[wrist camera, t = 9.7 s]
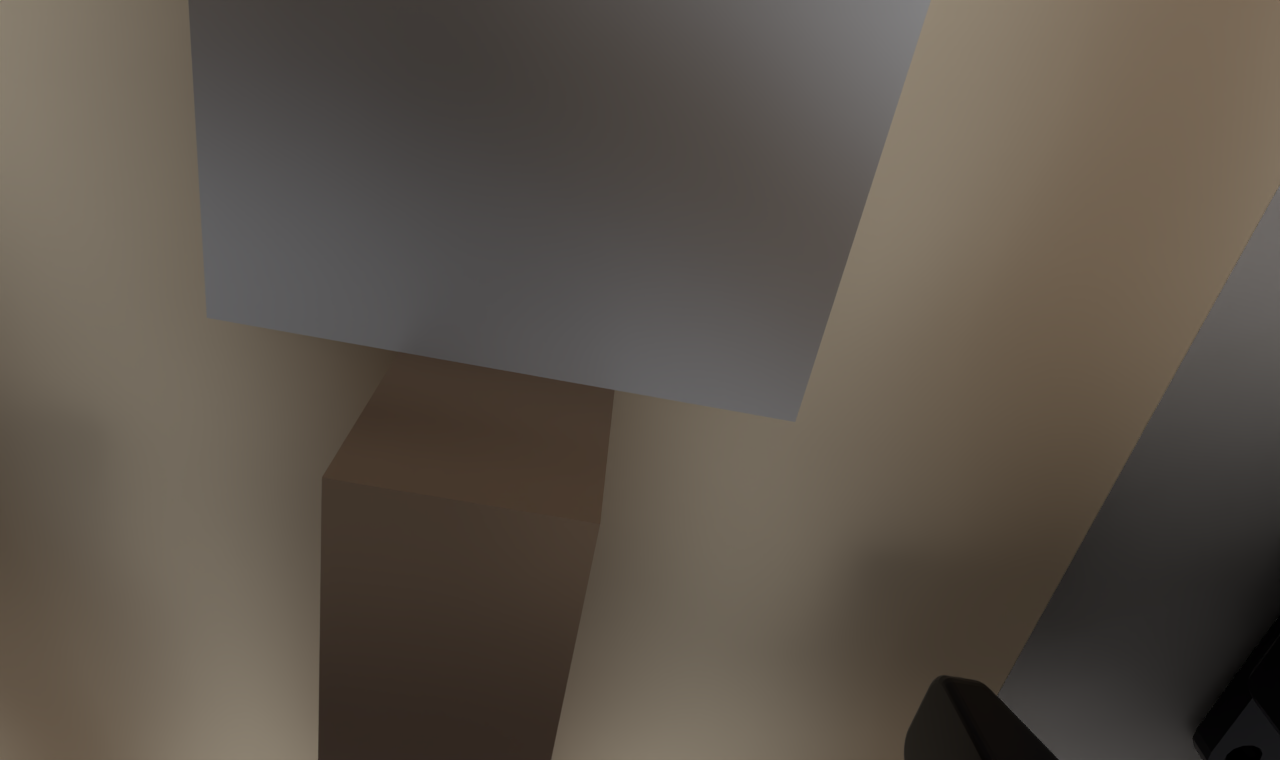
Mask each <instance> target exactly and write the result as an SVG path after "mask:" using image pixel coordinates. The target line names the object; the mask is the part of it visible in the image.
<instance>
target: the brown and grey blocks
mask: <svg viewBox="0 0 1280 760" xmlns="http://www.w3.org/2000/svg"><path fill="white" fill-rule="evenodd" d="M930 1H931V0H188V4H189V21H190V38H191V55H192V72H193V90H194V107H195V124H196V141H197V158H198V175H199V192H200V210H201V227H202V244H203V261H204V278H205V295H206V312H207V318H211V319H216V320H222V321H228V322H233V323H239V324H245V325H250V326H256V327H262V328H267V329H273V330H279V331H284V332H290V333H295V334H301V335H307V336H312V337H318V338H324V339H329V340H335V341H341V342H346V343H352V344H358V345H363V346H369V347H375V348H380V349H386V350H391V351H397V352H399V353H398V354H397V356H396V357H395V359H394V361H393V362H392V364H391V366H390V367H389V369H388V370H387V372H386V374H385V375H384V377H383V379H382V380H381V382H380V384H379V385H378V387H377V388H376V390H375V392H374V393H373V395H372V397H371V398H370V400H369V401H368V403H367V405H366V406H365V408H364V410H363V411H362V413H361V414H360V416H359V418H358V419H357V421H356V423H355V424H354V426H353V428H352V429H351V431H350V432H349V434H348V436H347V437H346V439H345V441H344V442H343V444H342V445H341V447H340V449H339V450H338V452H337V454H336V455H335V457H334V458H333V460H332V462H331V463H330V465H329V467H328V468H327V470H326V472H325V473H324V475H323V476H322V497H321V573H320V649H319V725H318V760H551V758H552V753H553V748H554V744H555V739H556V734H557V729H558V724H559V720H560V715H561V710H562V705H563V700H564V696H565V691H566V686H567V681H568V676H569V672H570V667H571V662H572V657H573V652H574V648H575V643H576V638H577V633H578V628H579V623H580V619H581V614H582V609H583V604H584V599H585V595H586V590H587V585H588V580H589V575H590V571H591V566H592V561H593V556H594V551H595V547H596V542H597V537H598V532H599V527H600V521H601V512H602V503H603V493H604V484H605V475H606V465H607V456H608V447H609V438H610V428H611V419H612V410H613V400H614V391H615V390H617V391H623V392H629V393H634V394H640V395H646V396H651V397H657V398H663V399H668V400H674V401H679V402H685V403H691V404H696V405H702V406H708V407H713V408H719V409H725V410H730V411H736V412H742V413H747V414H753V415H759V416H764V417H770V418H775V419H781V420H787V421H792V422H795V421H796V418H797V415H798V412H799V409H800V406H801V402H802V399H803V396H804V393H805V390H806V387H807V384H808V381H809V378H810V374H811V371H812V368H813V365H814V362H815V359H816V356H817V353H818V350H819V347H820V343H821V340H822V337H823V334H824V331H825V328H826V325H827V322H828V319H829V315H830V312H831V309H832V306H833V303H834V300H835V297H836V294H837V291H838V287H839V284H840V281H841V278H842V275H843V272H844V269H845V266H846V263H847V259H848V256H849V253H850V250H851V247H852V244H853V241H854V238H855V235H856V231H857V228H858V225H859V222H860V219H861V216H862V213H863V210H864V207H865V204H866V200H867V197H868V194H869V191H870V188H871V185H872V182H873V179H874V176H875V172H876V169H877V166H878V163H879V160H880V157H881V154H882V151H883V148H884V144H885V141H886V138H887V135H888V132H889V129H890V126H891V123H892V120H893V116H894V113H895V110H896V107H897V104H898V101H899V98H900V95H901V92H902V88H903V85H904V82H905V79H906V76H907V73H908V70H909V67H910V64H911V61H912V57H913V54H914V51H915V48H916V45H917V42H918V39H919V36H920V33H921V29H922V26H923V23H924V20H925V17H926V14H927V11H928V8H929V5H930Z"/></svg>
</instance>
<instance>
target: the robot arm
mask: <svg viewBox="0 0 1280 760" xmlns="http://www.w3.org/2000/svg"><path fill="white" fill-rule="evenodd" d="M1193 743H1194V747H1195V749H1196V750H1197V752H1198V753H1199V755H1200V756H1201V758H1202V760H1280V616H1279V617H1278V619H1277V620H1276V621H1275V623H1274V624H1273V625H1272V627H1271V628H1270V630H1269V631H1268V632H1267V634H1266V635H1265V636H1264V638H1263V639H1262V640H1261V642H1260V643H1259V645H1258V646H1257V647H1256V649H1255V650H1254V651H1253V653H1252V654H1251V656H1250V657H1249V658H1248V660H1247V661H1246V662H1245V664H1244V665H1243V666H1242V668H1241V669H1240V671H1239V672H1238V673H1237V675H1236V676H1235V677H1234V679H1233V680H1232V682H1231V683H1230V684H1229V686H1228V687H1227V688H1226V690H1225V691H1224V692H1223V694H1222V695H1221V697H1220V698H1219V699H1218V701H1217V702H1216V703H1215V705H1214V706H1213V707H1212V709H1211V710H1210V712H1209V713H1208V714H1207V716H1206V717H1205V718H1204V720H1203V721H1202V723H1201V724H1200V725H1199V727H1198V728H1197V729H1196V732H1195V734H1194V736H1193ZM904 760H1059V759H1058V758H1057V757H1056V756H1055V755H1054V754H1053V753H1052V752H1051V751H1050V750H1049V749H1048V748H1047V747H1046V746H1045V745H1044V744H1043V743H1042V742H1041V741H1040V740H1039V739H1038V738H1037V737H1036V736H1035V735H1034V734H1033V733H1032V732H1031V731H1030V730H1029V729H1028V727H1027V726H1026V725H1025V724H1024V723H1023V722H1022V721H1021V720H1020V719H1019V718H1018V717H1017V716H1016V715H1015V714H1014V713H1013V712H1012V711H1011V710H1010V709H1009V708H1008V707H1007V706H1006V705H1005V704H1004V703H1003V702H1002V701H1001V700H1000V699H999V698H998V697H997V695H996V694H995V693H994V692H993V691H992V690H991V689H990V688H989V687H987V686H986V685H985V684H984V683H982V682H980V681H977V680H973V679H967V678H961V677H955V676H948V675H941V676H938V677H937V678H935V679H934V680H933V681H932V683H931V684H930V686H929V688H928V690H927V692H926V694H925V696H924V698H923V700H922V702H921V704H920V706H919V708H918V710H917V712H916V714H915V716H914V718H913V720H912V722H911V724H910V726H909V728H908V731H907V733H906V737H905V742H904Z"/></svg>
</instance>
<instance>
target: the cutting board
mask: <svg viewBox="0 0 1280 760" xmlns="http://www.w3.org/2000/svg"><path fill="white" fill-rule="evenodd" d="M1279 185H1280V0H931V1H930V5H929V8H928V11H927V14H926V17H925V20H924V23H923V26H922V29H921V33H920V36H919V39H918V42H917V45H916V48H915V51H914V54H913V57H912V61H911V64H910V67H909V70H908V73H907V76H906V79H905V82H904V85H903V88H902V92H901V95H900V98H899V101H898V104H897V107H896V110H895V113H894V116H893V120H892V123H891V126H890V129H889V132H888V135H887V138H886V141H885V144H884V148H883V151H882V154H881V157H880V160H879V163H878V166H877V169H876V172H875V176H874V179H873V182H872V185H871V188H870V191H869V194H868V197H867V200H866V204H865V207H864V210H863V213H862V216H861V219H860V222H859V225H858V228H857V231H856V235H855V238H854V241H853V244H852V247H851V250H850V253H849V256H848V259H847V263H846V266H845V269H844V272H843V275H842V278H841V281H840V284H839V287H838V291H837V294H836V297H835V300H834V303H833V306H832V309H831V312H830V315H829V319H828V322H827V325H826V328H825V331H824V334H823V337H822V340H821V343H820V347H819V350H818V353H817V356H816V359H815V362H814V365H813V368H812V371H811V374H810V378H809V381H808V384H807V387H806V390H805V393H804V396H803V399H802V402H801V406H800V409H799V412H798V415H797V418H796V421H795V422H792V421H787V420H781V419H775V418H770V417H764V416H759V415H753V414H747V413H742V412H736V411H730V410H725V409H719V408H713V407H708V406H702V405H696V404H691V403H685V402H679V401H674V400H668V399H663V398H657V397H651V396H646V395H640V394H634V393H629V392H623V391H617V390H615V391H614V400H613V410H612V419H611V428H610V438H609V447H608V456H607V465H606V475H605V484H604V493H603V503H602V512H601V521H600V527H599V532H598V537H597V542H596V547H595V551H594V556H593V561H592V566H591V571H590V575H589V580H588V585H587V590H586V595H585V599H584V604H583V609H582V614H581V619H580V623H579V628H578V633H577V638H576V643H575V648H574V652H573V657H572V662H571V667H570V672H569V676H568V681H567V686H566V691H565V696H564V700H563V705H562V710H561V715H560V720H559V724H558V729H557V734H556V739H555V744H554V748H553V753H552V758H551V760H904V742H905V737H906V733H907V731H908V728H909V726H910V724H911V722H912V720H913V718H914V716H915V714H916V712H917V710H918V708H919V706H920V704H921V702H922V700H923V698H924V696H925V694H926V692H927V690H928V688H929V686H930V684H931V683H932V681H933V680H934V679H935V678H937V677H938V676H941V675H948V676H955V677H961V678H967V679H973V680H977V681H980V682H982V683H984V684H985V685H986V686H987V687H989V688H990V689H991V690H992V691H993V692H994V693H995V694H996V695H998V693H999V691H1000V689H1001V688H1002V686H1003V684H1004V682H1005V680H1006V679H1007V677H1008V675H1009V673H1010V671H1011V670H1012V668H1013V666H1014V664H1015V662H1016V660H1017V659H1018V657H1019V655H1020V653H1021V651H1022V650H1023V648H1024V646H1025V644H1026V642H1027V641H1028V639H1029V637H1030V635H1031V633H1032V632H1033V630H1034V628H1035V626H1036V624H1037V623H1038V621H1039V619H1040V617H1041V615H1042V613H1043V612H1044V610H1045V608H1046V606H1047V604H1048V603H1049V601H1050V599H1051V597H1052V595H1053V594H1054V592H1055V590H1056V588H1057V586H1058V585H1059V583H1060V581H1061V579H1062V577H1063V576H1064V574H1065V572H1066V570H1067V568H1068V566H1069V565H1070V563H1071V561H1072V559H1073V557H1074V556H1075V554H1076V552H1077V550H1078V548H1079V547H1080V545H1081V543H1082V541H1083V539H1084V538H1085V536H1086V534H1087V532H1088V530H1089V529H1090V527H1091V525H1092V523H1093V521H1094V520H1095V518H1096V516H1097V514H1098V512H1099V510H1100V509H1101V507H1102V505H1103V503H1104V501H1105V500H1106V498H1107V496H1108V494H1109V492H1110V491H1111V489H1112V487H1113V485H1114V483H1115V482H1116V480H1117V478H1118V476H1119V474H1120V473H1121V471H1122V469H1123V467H1124V465H1125V463H1126V462H1127V460H1128V458H1129V456H1130V454H1131V453H1132V451H1133V449H1134V447H1135V445H1136V444H1137V442H1138V440H1139V438H1140V436H1141V435H1142V433H1143V431H1144V429H1145V427H1146V426H1147V424H1148V422H1149V420H1150V418H1151V416H1152V415H1153V413H1154V411H1155V409H1156V407H1157V406H1158V404H1159V402H1160V400H1161V398H1162V397H1163V395H1164V393H1165V391H1166V389H1167V388H1168V386H1169V384H1170V382H1171V380H1172V379H1173V377H1174V375H1175V373H1176V371H1177V369H1178V368H1179V366H1180V364H1181V362H1182V360H1183V359H1184V357H1185V355H1186V353H1187V351H1188V350H1189V348H1190V346H1191V344H1192V342H1193V341H1194V339H1195V337H1196V335H1197V333H1198V332H1199V330H1200V328H1201V326H1202V324H1203V323H1204V321H1205V319H1206V317H1207V315H1208V313H1209V312H1210V310H1211V308H1212V306H1213V304H1214V303H1215V301H1216V299H1217V297H1218V295H1219V294H1220V292H1221V290H1222V288H1223V286H1224V285H1225V283H1226V281H1227V279H1228V277H1229V276H1230V274H1231V272H1232V270H1233V268H1234V266H1235V265H1236V263H1237V261H1238V259H1239V257H1240V256H1241V254H1242V252H1243V250H1244V248H1245V247H1246V245H1247V243H1248V241H1249V239H1250V238H1251V236H1252V234H1253V232H1254V230H1255V229H1256V227H1257V225H1258V223H1259V221H1260V219H1261V218H1262V216H1263V214H1264V212H1265V210H1266V209H1267V207H1268V205H1269V203H1270V201H1271V200H1272V198H1273V196H1274V194H1275V192H1276V191H1277V189H1278V187H1279ZM398 353H399V352H397V351H391V350H386V349H380V348H375V347H369V346H363V345H358V344H352V343H346V342H341V341H335V340H329V339H324V338H318V337H312V336H307V335H301V334H295V333H290V332H284V331H279V330H273V329H267V328H262V327H256V326H250V325H245V324H239V323H233V322H228V321H222V320H216V319H211V318H207V312H206V295H205V278H204V261H203V244H202V227H201V210H200V192H199V175H198V158H197V141H196V124H195V107H194V90H193V72H192V55H191V38H190V21H189V4H188V0H0V760H318V725H319V649H320V573H321V497H322V476H323V475H324V473H325V472H326V470H327V468H328V467H329V465H330V463H331V462H332V460H333V458H334V457H335V455H336V454H337V452H338V450H339V449H340V447H341V445H342V444H343V442H344V441H345V439H346V437H347V436H348V434H349V432H350V431H351V429H352V428H353V426H354V424H355V423H356V421H357V419H358V418H359V416H360V414H361V413H362V411H363V410H364V408H365V406H366V405H367V403H368V401H369V400H370V398H371V397H372V395H373V393H374V392H375V390H376V388H377V387H378V385H379V384H380V382H381V380H382V379H383V377H384V375H385V374H386V372H387V370H388V369H389V367H390V366H391V364H392V362H393V361H394V359H395V357H396V356H397V354H398Z"/></svg>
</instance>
